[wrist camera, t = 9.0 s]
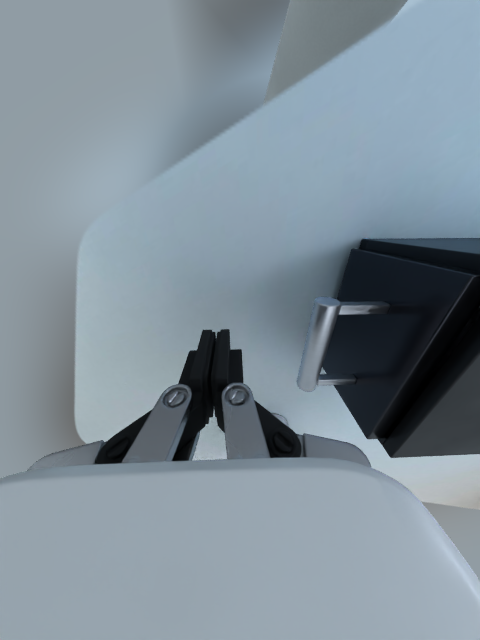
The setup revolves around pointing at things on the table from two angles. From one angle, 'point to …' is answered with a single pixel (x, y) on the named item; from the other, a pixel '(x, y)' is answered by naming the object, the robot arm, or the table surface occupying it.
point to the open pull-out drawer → (387, 333)
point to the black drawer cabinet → (441, 369)
